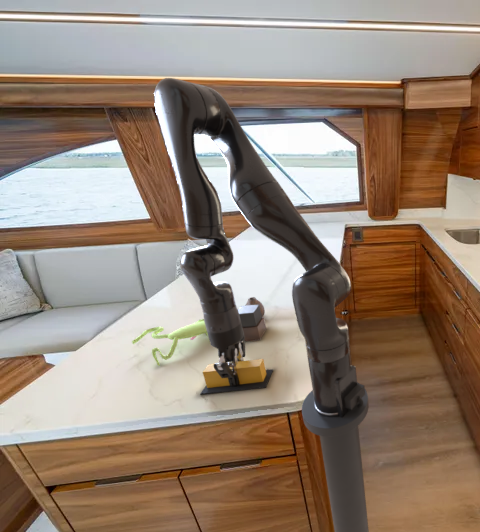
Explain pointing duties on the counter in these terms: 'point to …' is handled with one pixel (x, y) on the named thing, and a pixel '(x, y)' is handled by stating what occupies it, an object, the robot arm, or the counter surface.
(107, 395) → the counter surface
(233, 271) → the counter surface
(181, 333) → the figurine
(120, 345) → the counter surface
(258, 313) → the tower top
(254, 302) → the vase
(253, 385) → the mat
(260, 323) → the tower base
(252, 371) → the bar
